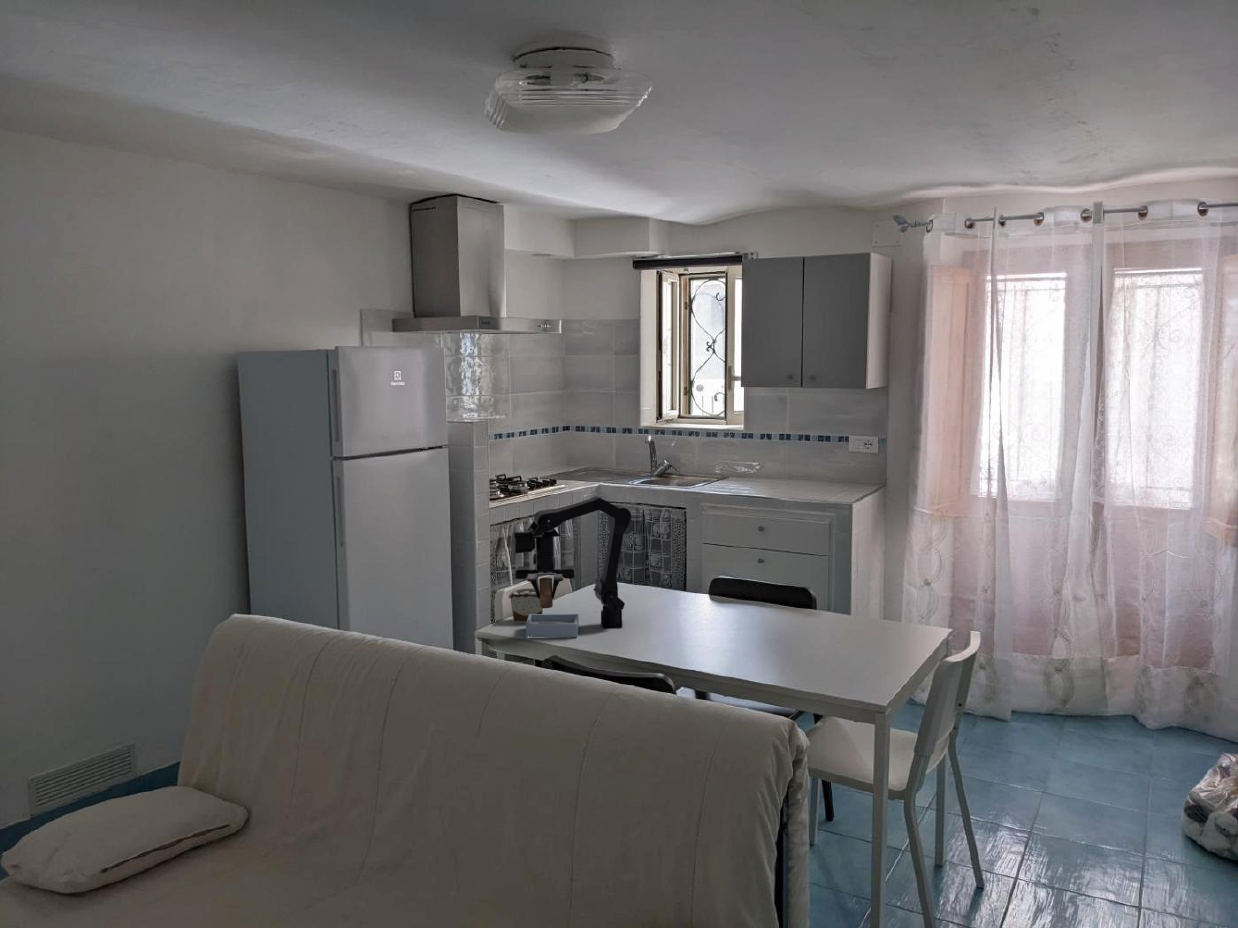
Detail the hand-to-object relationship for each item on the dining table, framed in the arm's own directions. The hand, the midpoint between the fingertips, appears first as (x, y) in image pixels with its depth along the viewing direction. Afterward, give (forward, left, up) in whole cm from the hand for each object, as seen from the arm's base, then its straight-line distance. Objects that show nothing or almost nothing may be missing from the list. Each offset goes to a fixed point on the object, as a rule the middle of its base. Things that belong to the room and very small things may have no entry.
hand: (546, 598), depth 303 cm
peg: (0, 0, -3) cm, 2 cm away
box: (-2, 0, -11) cm, 11 cm away
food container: (+7, -14, -11) cm, 20 cm away
